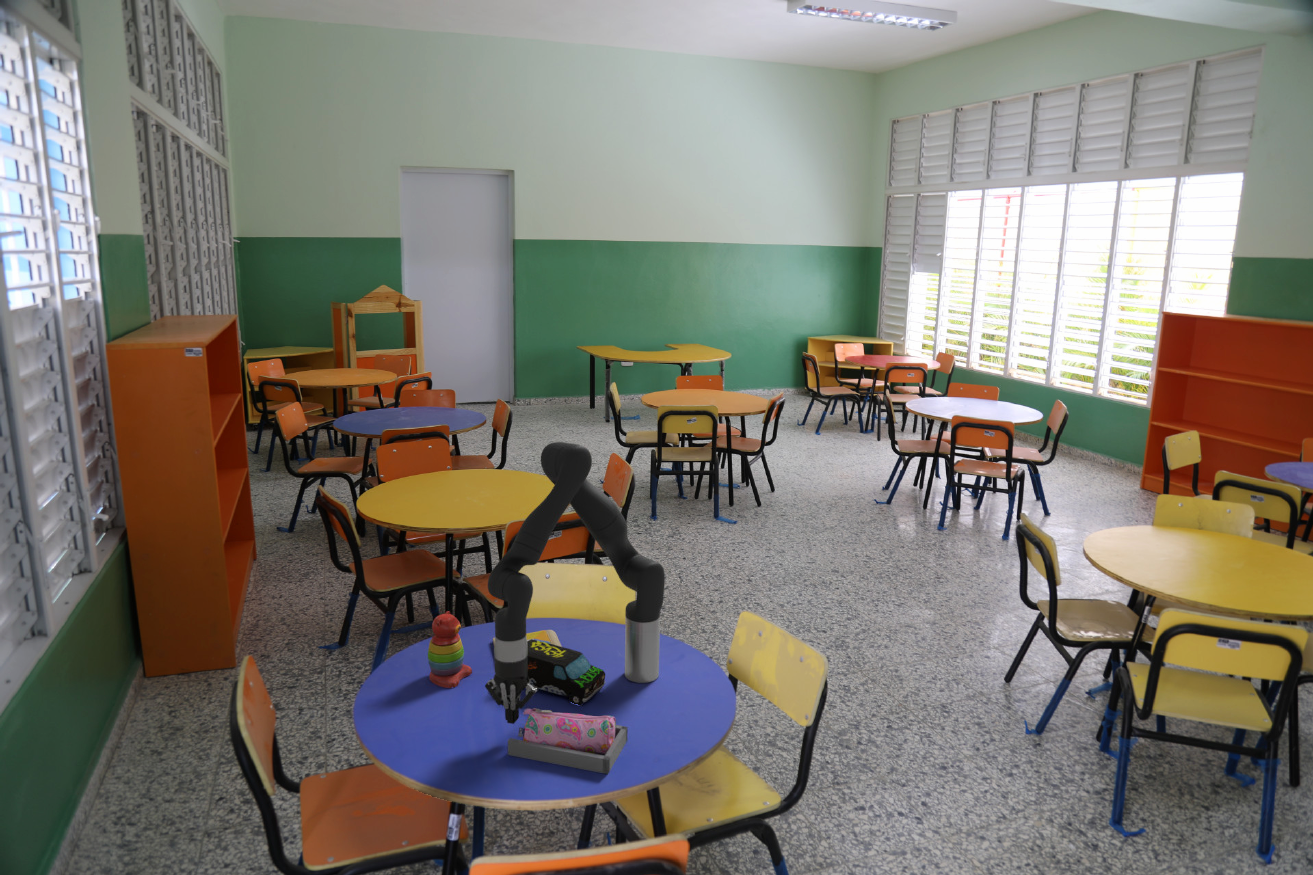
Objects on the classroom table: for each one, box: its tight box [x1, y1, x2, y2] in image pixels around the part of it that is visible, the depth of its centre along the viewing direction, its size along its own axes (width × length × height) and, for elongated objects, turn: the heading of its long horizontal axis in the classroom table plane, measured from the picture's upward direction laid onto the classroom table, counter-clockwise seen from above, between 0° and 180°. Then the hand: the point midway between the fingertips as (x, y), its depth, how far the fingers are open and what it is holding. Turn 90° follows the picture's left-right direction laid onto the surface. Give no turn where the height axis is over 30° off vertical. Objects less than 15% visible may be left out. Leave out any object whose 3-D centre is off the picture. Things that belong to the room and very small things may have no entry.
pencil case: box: [517, 708, 617, 756], centre depth 195 cm, size 21×9×9 cm, turn 80°
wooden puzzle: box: [492, 629, 563, 647], centre depth 243 cm, size 18×19×4 cm
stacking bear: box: [427, 610, 473, 689], centre depth 225 cm, size 11×10×18 cm
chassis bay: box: [507, 724, 628, 775], centre depth 196 cm, size 14×24×4 cm, turn 74°
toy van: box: [527, 639, 606, 707], centre depth 222 cm, size 11×25×10 cm, turn 62°
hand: (511, 721), depth 198 cm, fingers closed
